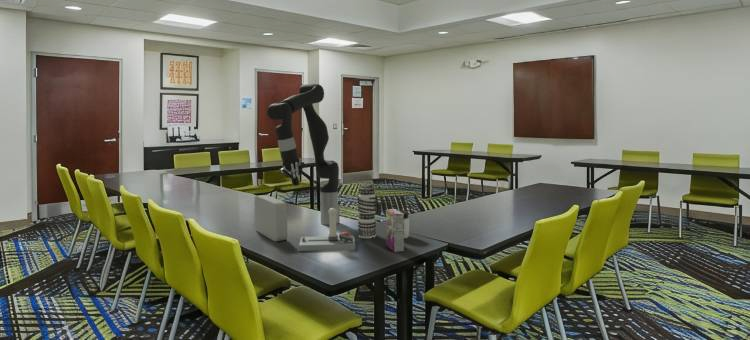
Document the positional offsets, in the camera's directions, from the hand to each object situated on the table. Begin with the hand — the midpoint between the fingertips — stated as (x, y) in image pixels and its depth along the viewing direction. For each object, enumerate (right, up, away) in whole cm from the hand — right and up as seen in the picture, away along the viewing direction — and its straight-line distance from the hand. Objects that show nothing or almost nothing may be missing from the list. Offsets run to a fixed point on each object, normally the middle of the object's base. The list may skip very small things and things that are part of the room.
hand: (296, 185), depth 212 cm
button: (+22, -23, 0) cm, 32 cm away
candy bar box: (+44, -27, -8) cm, 53 cm away
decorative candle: (+32, -25, +13) cm, 42 cm away
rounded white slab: (-15, -25, +15) cm, 33 cm away
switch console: (+14, -27, -4) cm, 31 cm away
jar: (+47, -25, +11) cm, 55 cm away
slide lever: (+17, -24, -4) cm, 29 cm away
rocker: (+23, -23, -7) cm, 33 cm away
